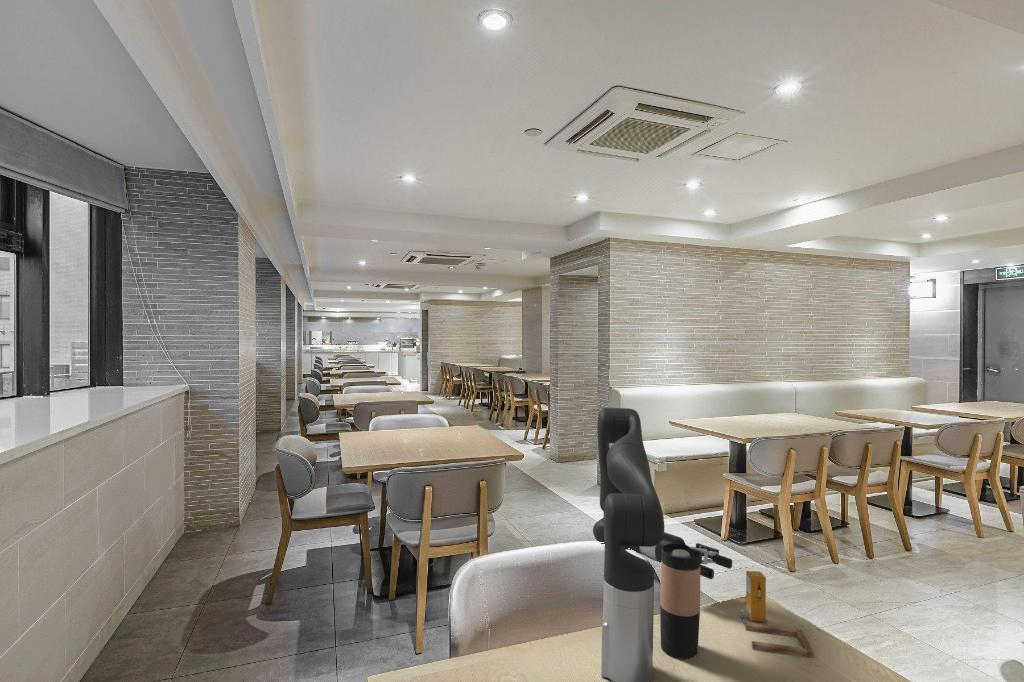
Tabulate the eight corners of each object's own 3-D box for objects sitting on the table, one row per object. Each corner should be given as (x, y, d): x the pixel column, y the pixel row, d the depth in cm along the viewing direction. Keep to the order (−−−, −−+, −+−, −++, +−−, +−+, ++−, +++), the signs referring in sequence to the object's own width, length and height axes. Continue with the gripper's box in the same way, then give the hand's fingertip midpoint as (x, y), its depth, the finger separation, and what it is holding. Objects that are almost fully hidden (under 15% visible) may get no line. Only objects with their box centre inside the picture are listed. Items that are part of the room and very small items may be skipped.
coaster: (744, 625, 117) (744, 622, 117) (740, 613, 122) (740, 610, 122) (768, 628, 116) (769, 625, 116) (763, 616, 121) (763, 613, 121)
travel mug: (659, 657, 105) (661, 556, 105) (658, 635, 112) (660, 541, 112) (701, 663, 103) (703, 560, 103) (697, 641, 111) (699, 545, 110)
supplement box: (760, 614, 120) (761, 570, 120) (766, 623, 117) (767, 577, 117) (744, 613, 121) (745, 569, 120) (750, 622, 117) (751, 576, 117)
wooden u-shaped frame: (752, 649, 108) (752, 644, 108) (744, 626, 116) (744, 622, 116) (813, 657, 105) (814, 652, 105) (801, 634, 114) (801, 629, 114)
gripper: (646, 539, 132) (707, 561, 120) (678, 526, 141) (737, 545, 129) (645, 569, 132) (706, 594, 120) (677, 554, 141) (737, 576, 129)
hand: (722, 569), depth 124 cm, fingers open, 8 cm apart
